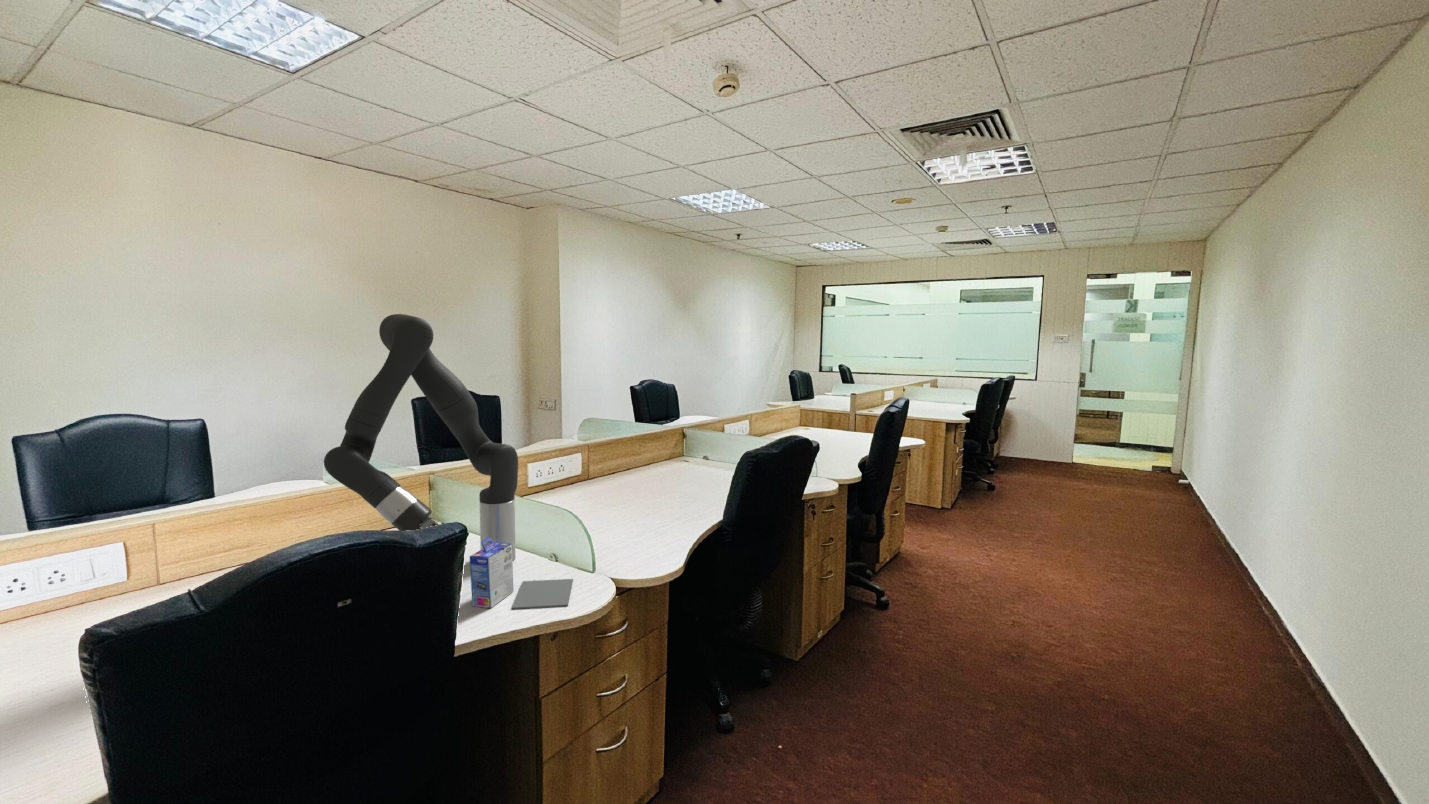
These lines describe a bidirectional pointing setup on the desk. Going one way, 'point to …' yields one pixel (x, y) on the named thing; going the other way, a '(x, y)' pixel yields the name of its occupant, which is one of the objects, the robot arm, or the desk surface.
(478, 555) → the ink cartridge box
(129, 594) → the desk surface
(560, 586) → the mat
